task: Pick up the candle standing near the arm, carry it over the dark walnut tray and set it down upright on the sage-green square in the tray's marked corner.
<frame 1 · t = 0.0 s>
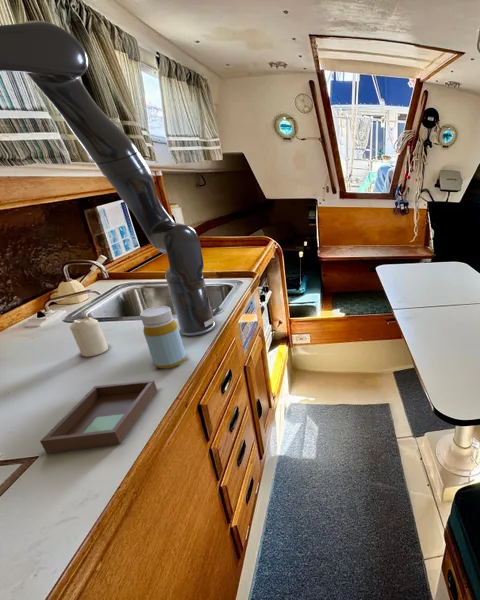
corner tile: (106, 427, 64), resting on tray
candle: (95, 351, 89), on the worktop
bottle: (171, 362, 86), on the worktop
tray: (109, 418, 67), on the worktop
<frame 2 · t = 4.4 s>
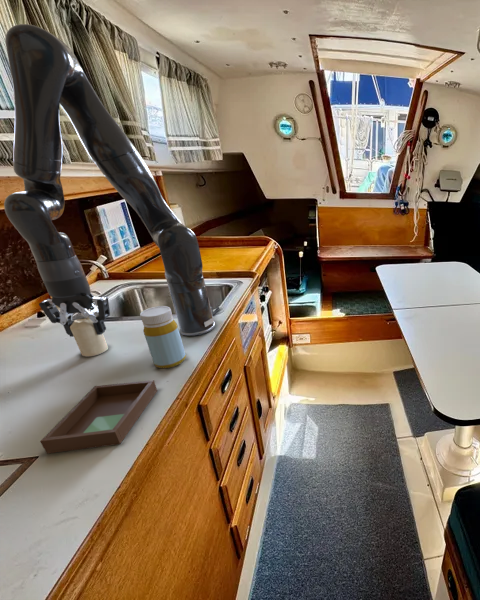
hand: (87, 334, 87), 6 cm above the worktop, tool pointing down, fingers closed on candle, 5 cm apart
candle: (95, 351, 89), on the worktop, touching gripper
everything else where it was.
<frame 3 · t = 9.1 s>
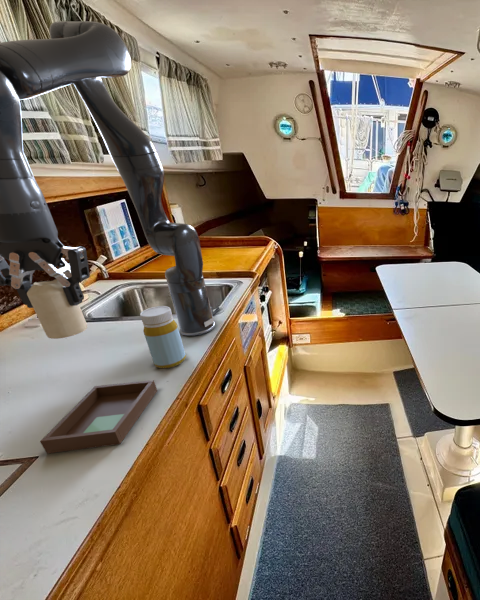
hand: (56, 304, 58), 26 cm above the worktop, tool pointing down, fingers closed on candle, 5 cm apart
candle: (68, 332, 60), point 20 cm above the worktop, touching gripper
everything else where it was.
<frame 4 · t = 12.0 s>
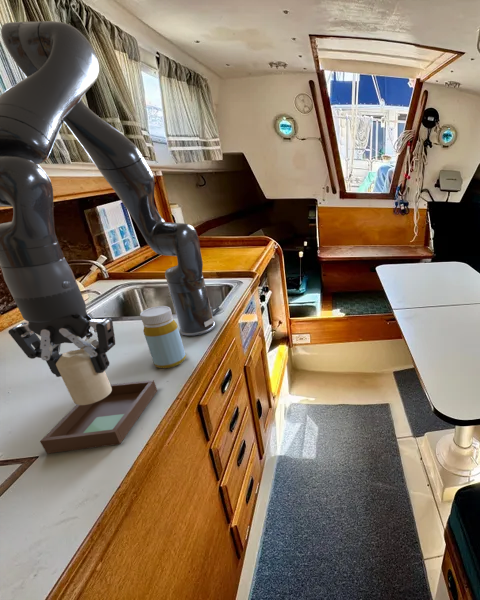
hand: (83, 372, 59), 13 cm above the worktop, tool pointing down, fingers closed on candle, 5 cm apart
candle: (94, 396, 62), point 8 cm above the worktop, touching gripper
everything else where it was.
when the fingers open (6 cm above the worktop, at t = 14.1 s): candle stays where it is, resting on corner tile.
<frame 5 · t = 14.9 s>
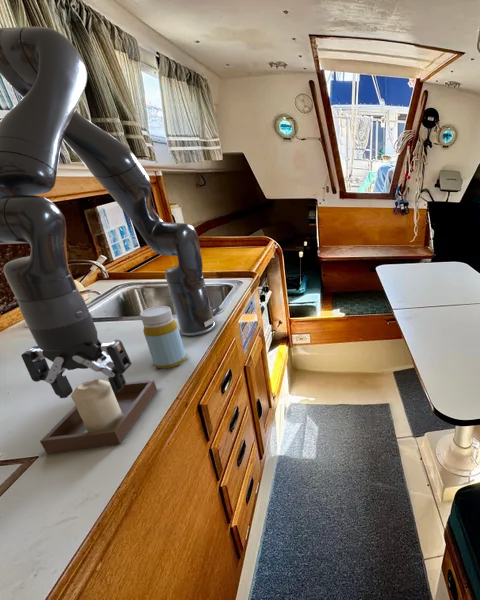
hand: (93, 392, 61), 9 cm above the worktop, tool pointing down, fingers open, 8 cm apart
candle: (106, 424, 65), point 1 cm above the worktop, touching corner tile
everything else where it was.
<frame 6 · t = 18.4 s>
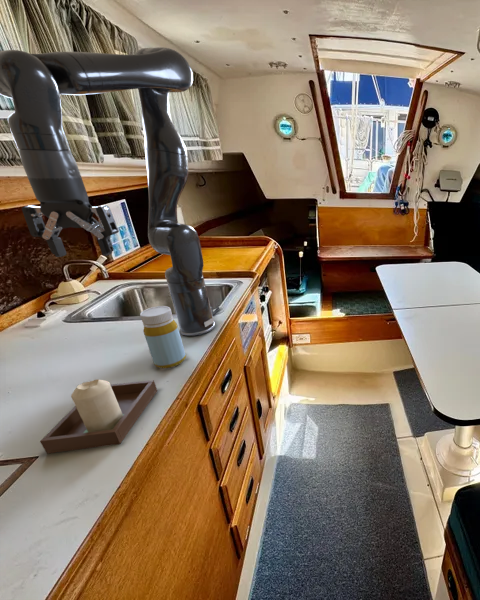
hand: (84, 255, 70), 30 cm above the worktop, tool pointing down, fingers open, 8 cm apart
nothing on the worktop moved.
at the end: candle 1.1 cm from the target spot in the tray, point 0.6 cm above the tray's base; candle tilted 0°; the gripper is holding nothing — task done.
